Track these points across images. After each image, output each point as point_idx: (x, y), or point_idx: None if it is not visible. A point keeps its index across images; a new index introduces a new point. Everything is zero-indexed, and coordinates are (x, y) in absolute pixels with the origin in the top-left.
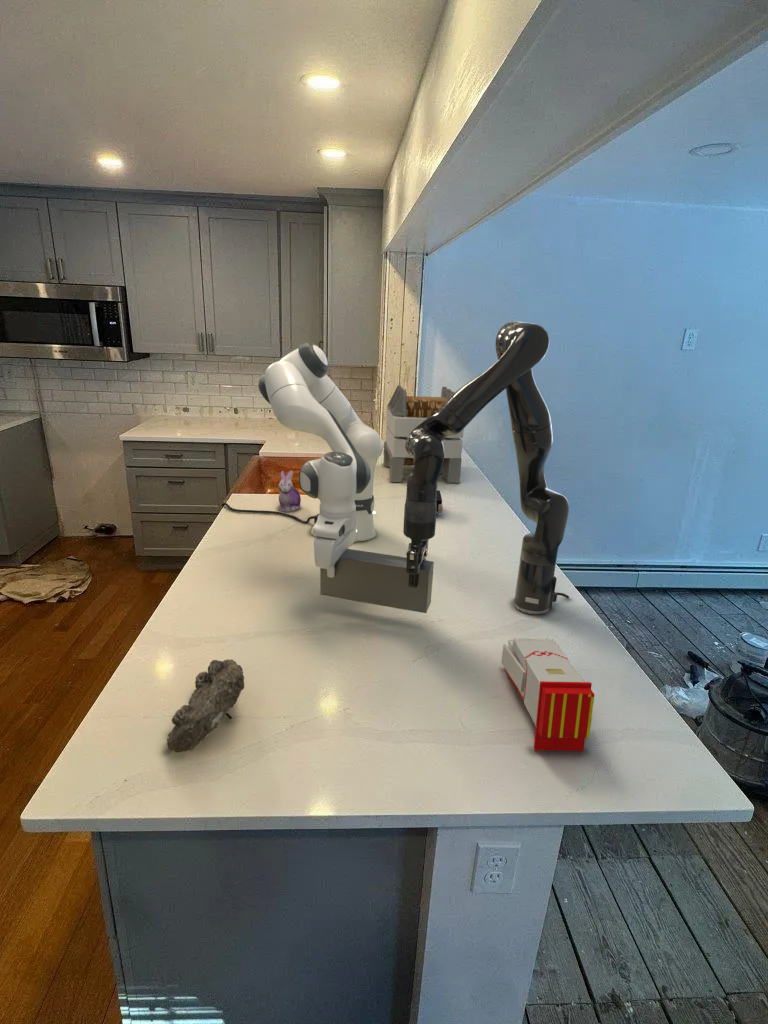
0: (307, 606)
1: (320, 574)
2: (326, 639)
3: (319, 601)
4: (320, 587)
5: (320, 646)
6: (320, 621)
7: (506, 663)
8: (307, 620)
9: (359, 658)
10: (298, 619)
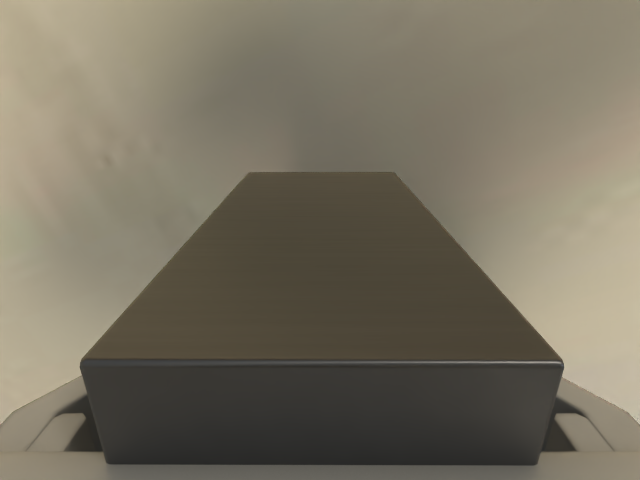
0: (316, 52)
1: (206, 221)
2: (93, 252)
3: (389, 95)
4: (237, 186)
5: (36, 249)
6: (208, 177)
7: None
8: (188, 113)
9: (54, 387)
10: (175, 63)
